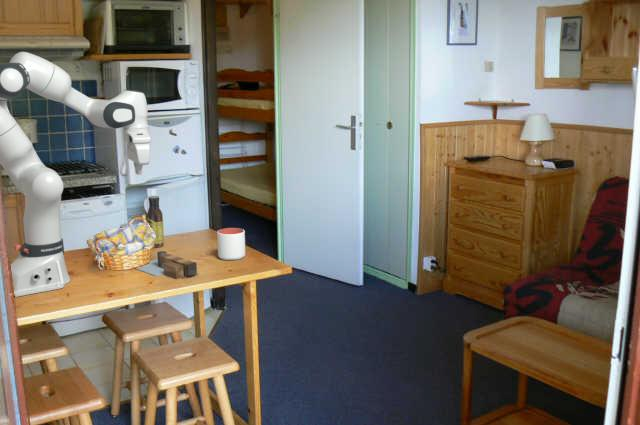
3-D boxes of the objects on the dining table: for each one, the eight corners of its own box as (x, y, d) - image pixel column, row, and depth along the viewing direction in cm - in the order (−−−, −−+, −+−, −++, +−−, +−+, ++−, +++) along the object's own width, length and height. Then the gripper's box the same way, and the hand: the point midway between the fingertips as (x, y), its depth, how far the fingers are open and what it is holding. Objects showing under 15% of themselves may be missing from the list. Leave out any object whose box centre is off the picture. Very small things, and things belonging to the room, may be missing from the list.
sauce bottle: (146, 245, 277) (143, 195, 273) (162, 243, 279) (159, 194, 275) (149, 249, 271) (146, 198, 267) (166, 247, 274) (163, 197, 269)
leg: (155, 265, 248) (155, 252, 247) (164, 263, 251) (163, 250, 250) (188, 276, 235) (187, 263, 234) (196, 274, 238) (196, 260, 237)
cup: (247, 260, 256) (246, 233, 254) (219, 262, 254) (218, 235, 251) (243, 252, 265) (242, 227, 263) (216, 254, 263) (215, 228, 261)
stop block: (178, 279, 234) (177, 268, 233) (164, 274, 239) (163, 263, 238) (198, 274, 240) (197, 263, 239) (184, 269, 245) (183, 258, 244)
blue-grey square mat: (156, 276, 238) (156, 275, 237) (130, 267, 248) (130, 266, 248) (194, 266, 249) (194, 265, 249) (168, 257, 260) (168, 256, 260)
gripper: (121, 133, 258) (124, 170, 261) (133, 139, 240) (136, 179, 243) (138, 132, 261) (141, 169, 264) (151, 138, 243) (154, 177, 246)
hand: (138, 174), depth 253 cm, fingers closed
